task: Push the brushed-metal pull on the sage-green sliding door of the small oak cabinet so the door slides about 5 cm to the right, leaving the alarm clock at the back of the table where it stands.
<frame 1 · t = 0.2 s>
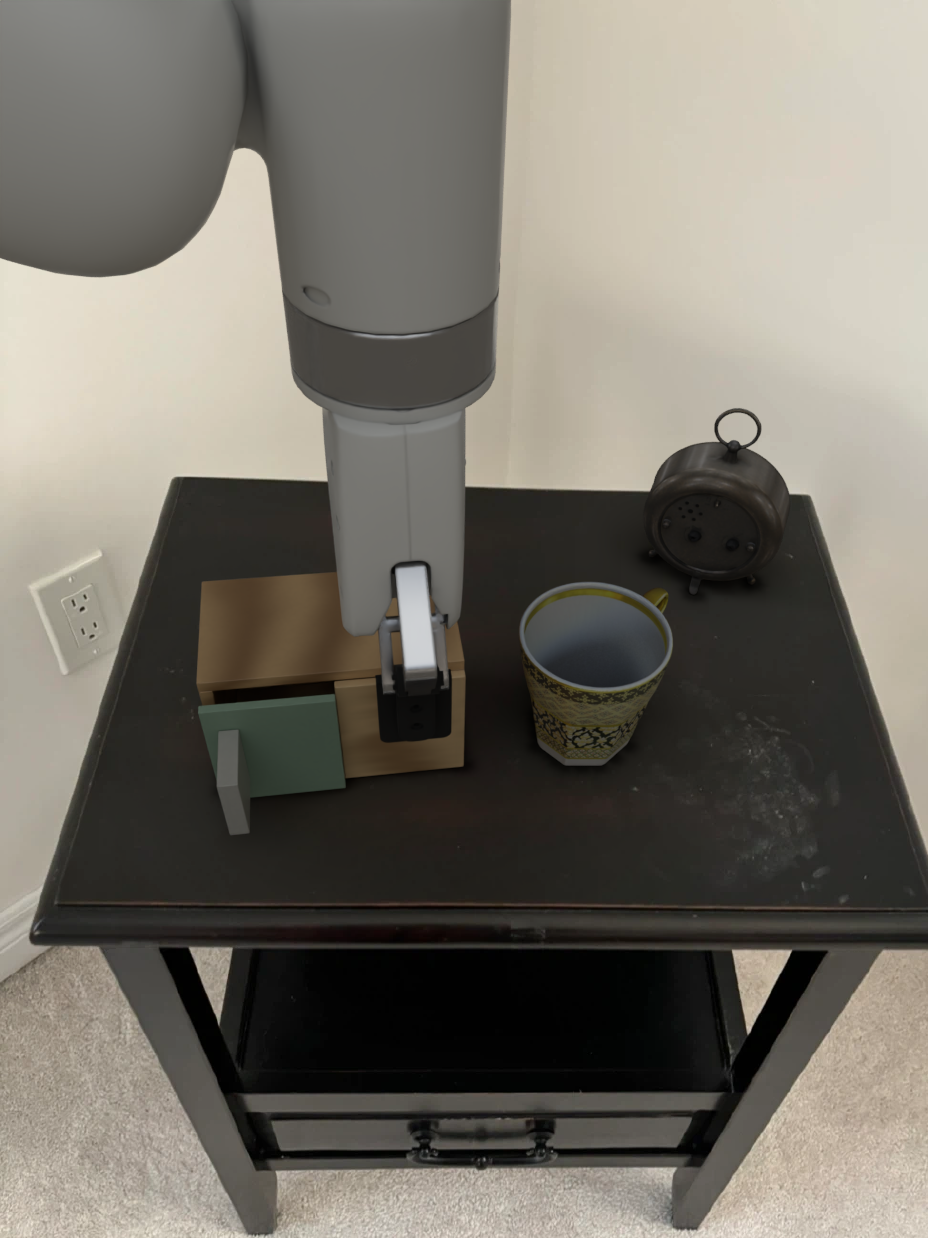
hand: (405, 657, 50), 20 cm above the table, tool pointing down, fingers open, 9 cm apart
ceramic cup: (594, 722, 75), on the table
sliding door: (276, 776, 63), point 5 cm above the table, slide at 0.0 cm
alarm clock: (698, 580, 86), on the table
cabinet: (342, 728, 73), on the table
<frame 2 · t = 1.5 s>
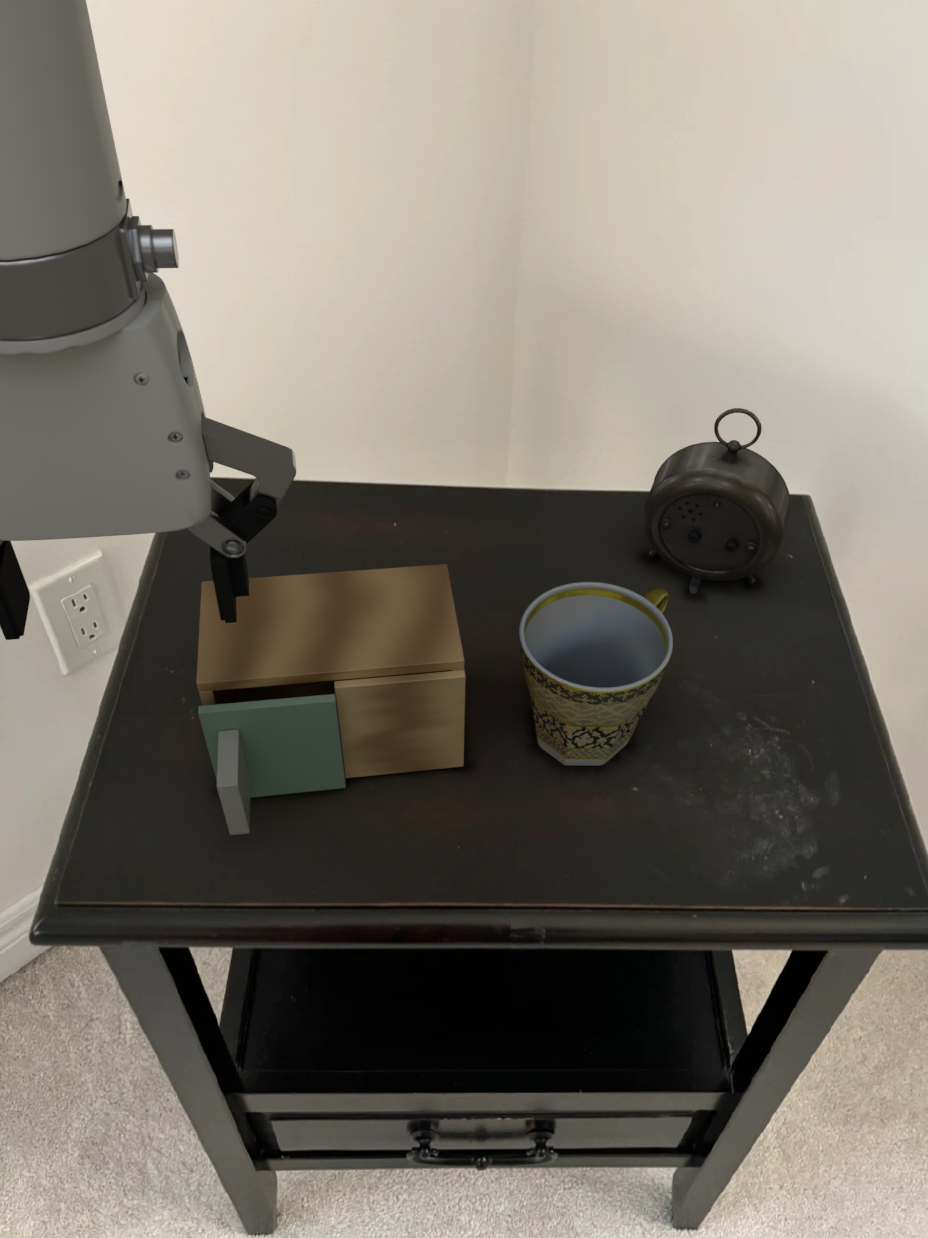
hand: (126, 610, 49), 22 cm above the table, tool pointing down, fingers open, 9 cm apart
nothing on the table moved.
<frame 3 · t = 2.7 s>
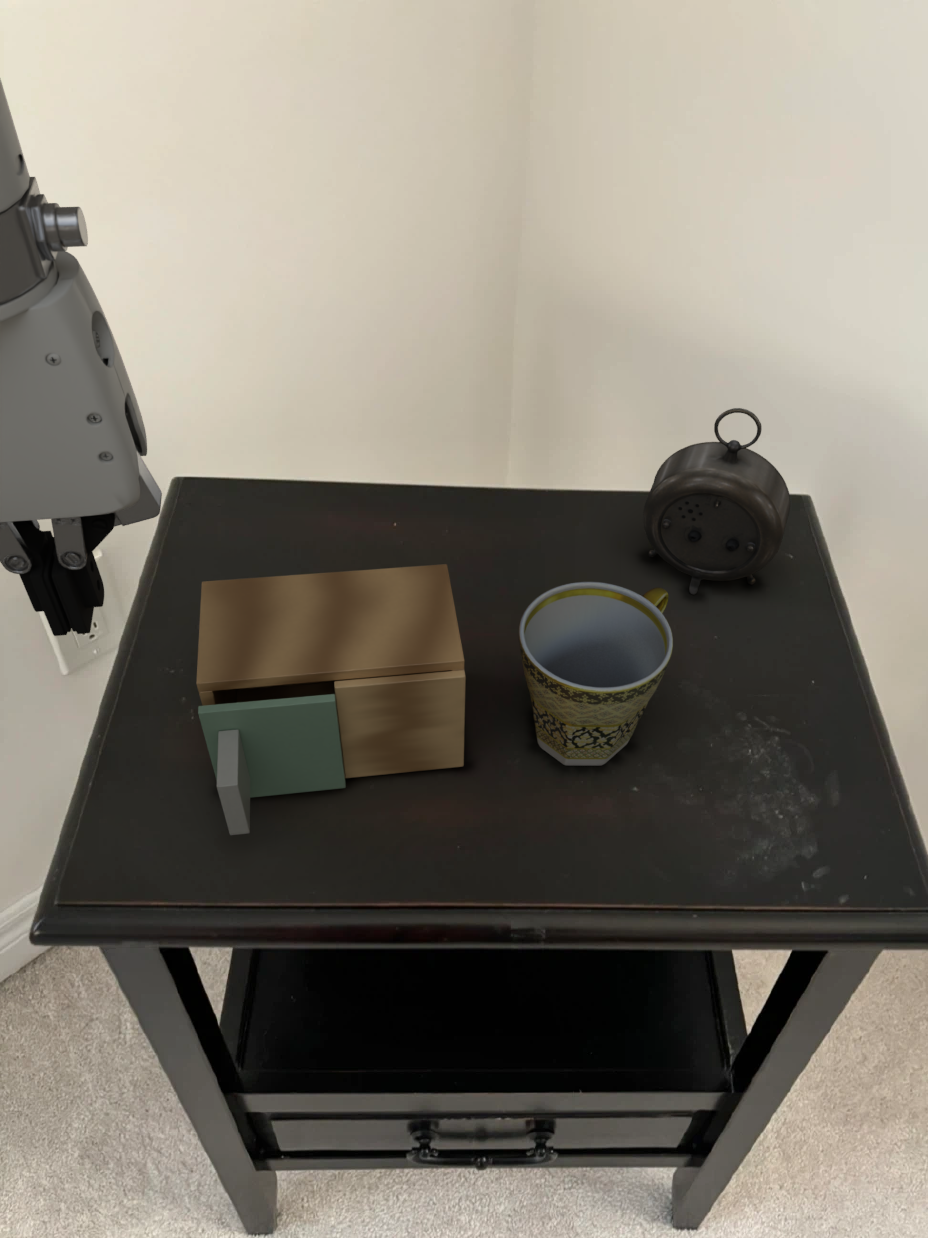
hand: (76, 614, 50), 21 cm above the table, tool pointing down, fingers closed
nothing on the table moved.
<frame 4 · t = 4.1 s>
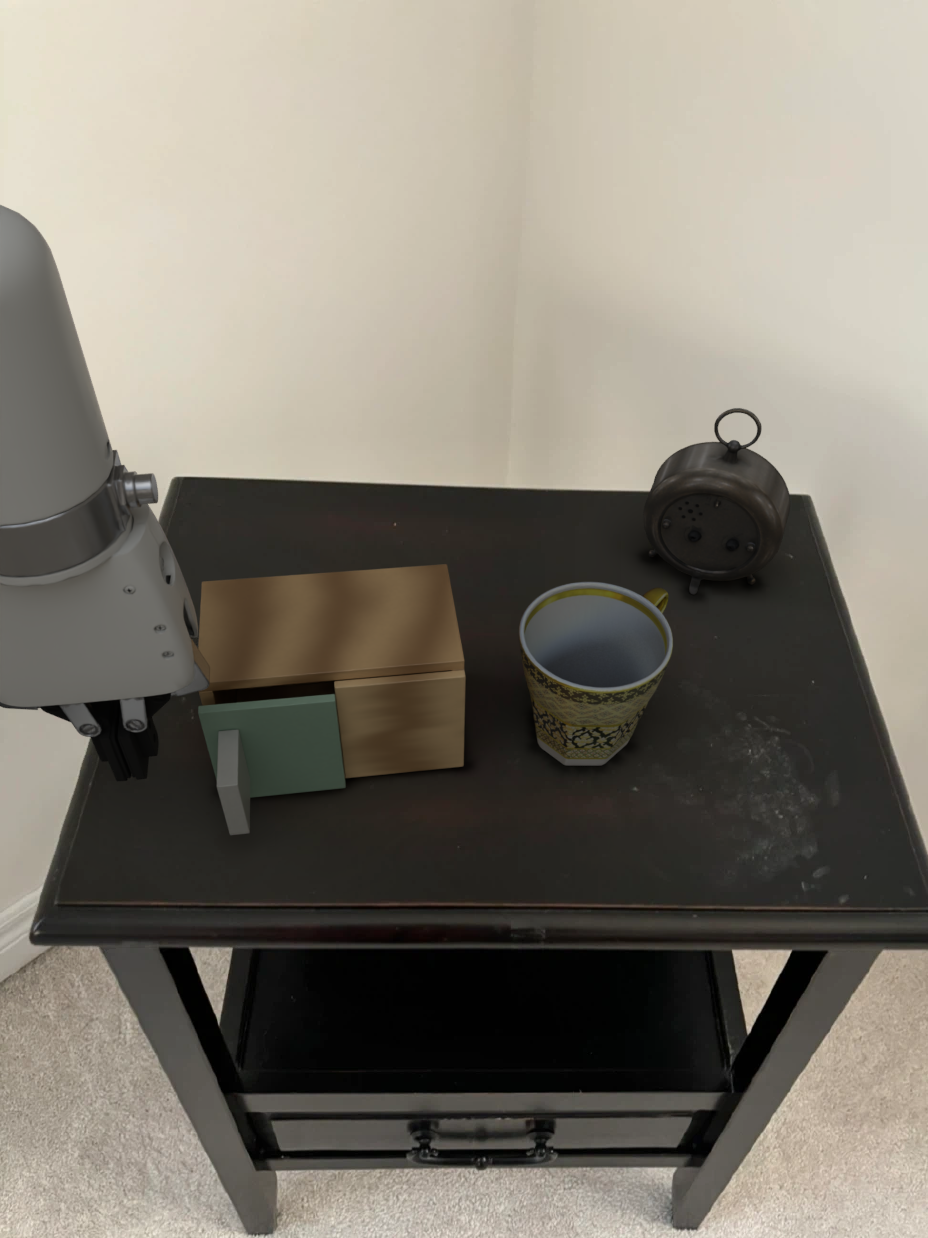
hand: (134, 760, 59), 9 cm above the table, tool pointing down, fingers closed
nothing on the table moved.
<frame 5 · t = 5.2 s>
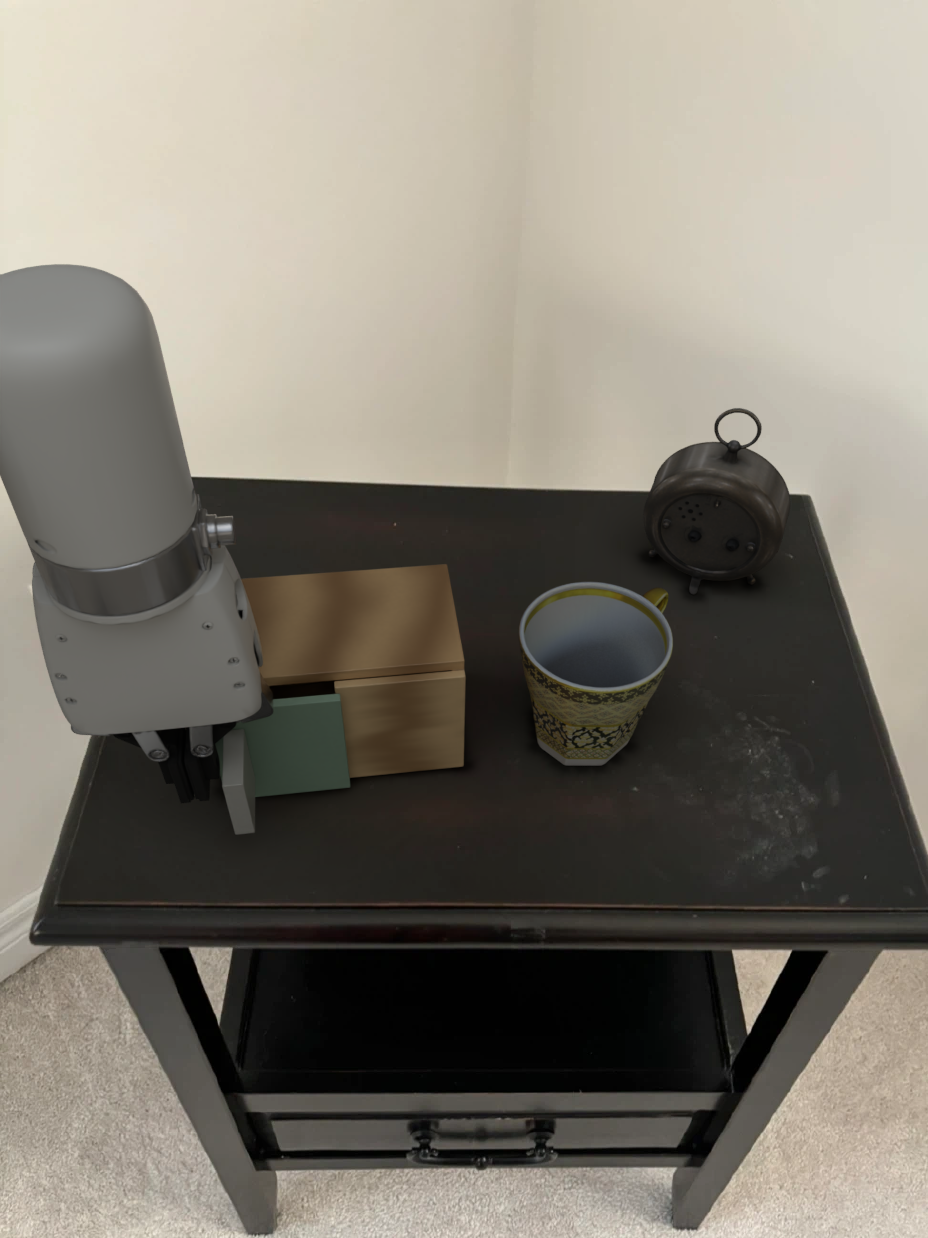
hand: (196, 782, 61), 6 cm above the table, tool pointing down, fingers closed
sliding door: (281, 775, 63), point 5 cm above the table, slide at 0.3 cm, touching gripper
everything else where it was.
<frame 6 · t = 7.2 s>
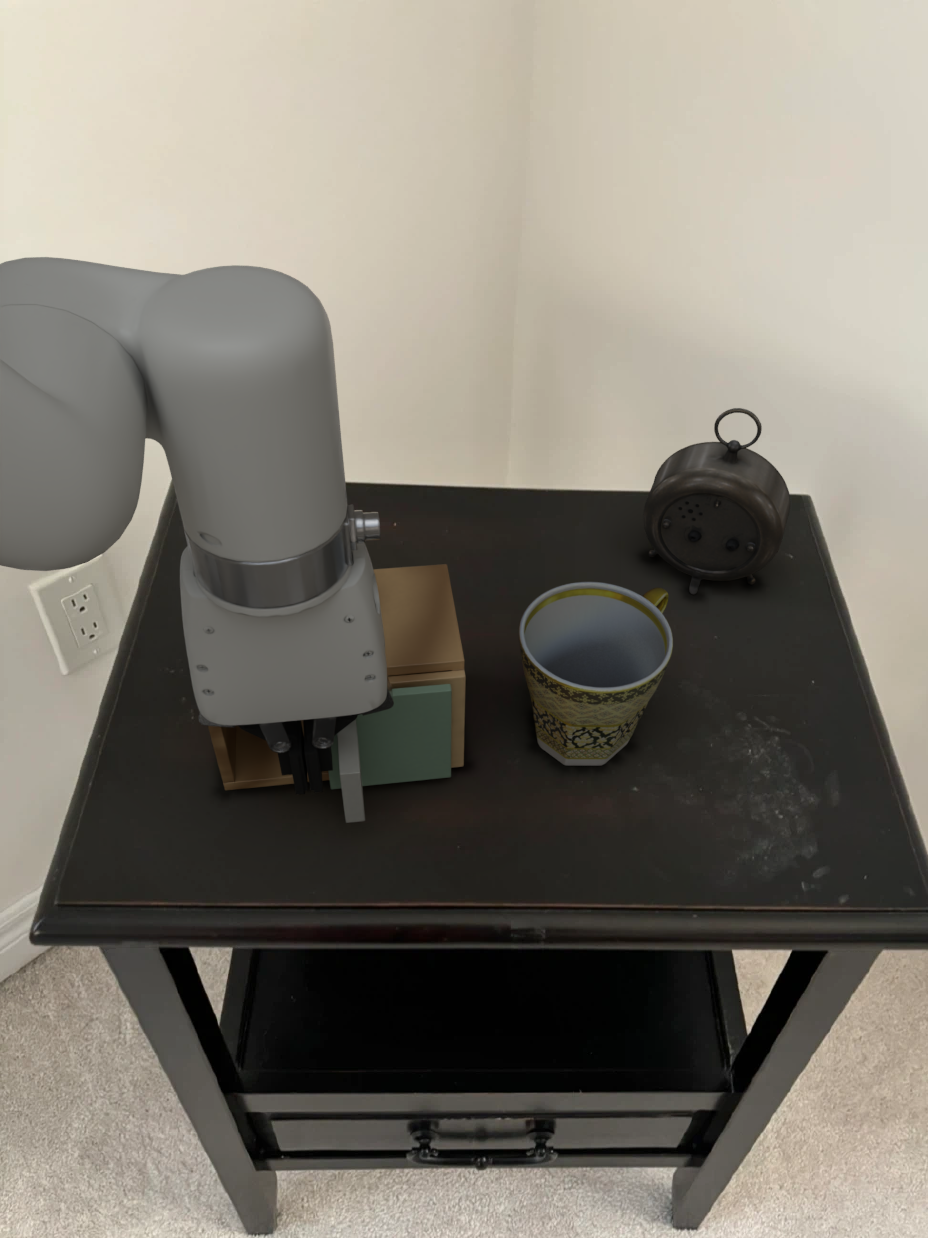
hand: (308, 773, 63), 6 cm above the table, tool pointing down, fingers closed
sliding door: (391, 764, 64), point 5 cm above the table, slide at 7.0 cm
everything else where it was.
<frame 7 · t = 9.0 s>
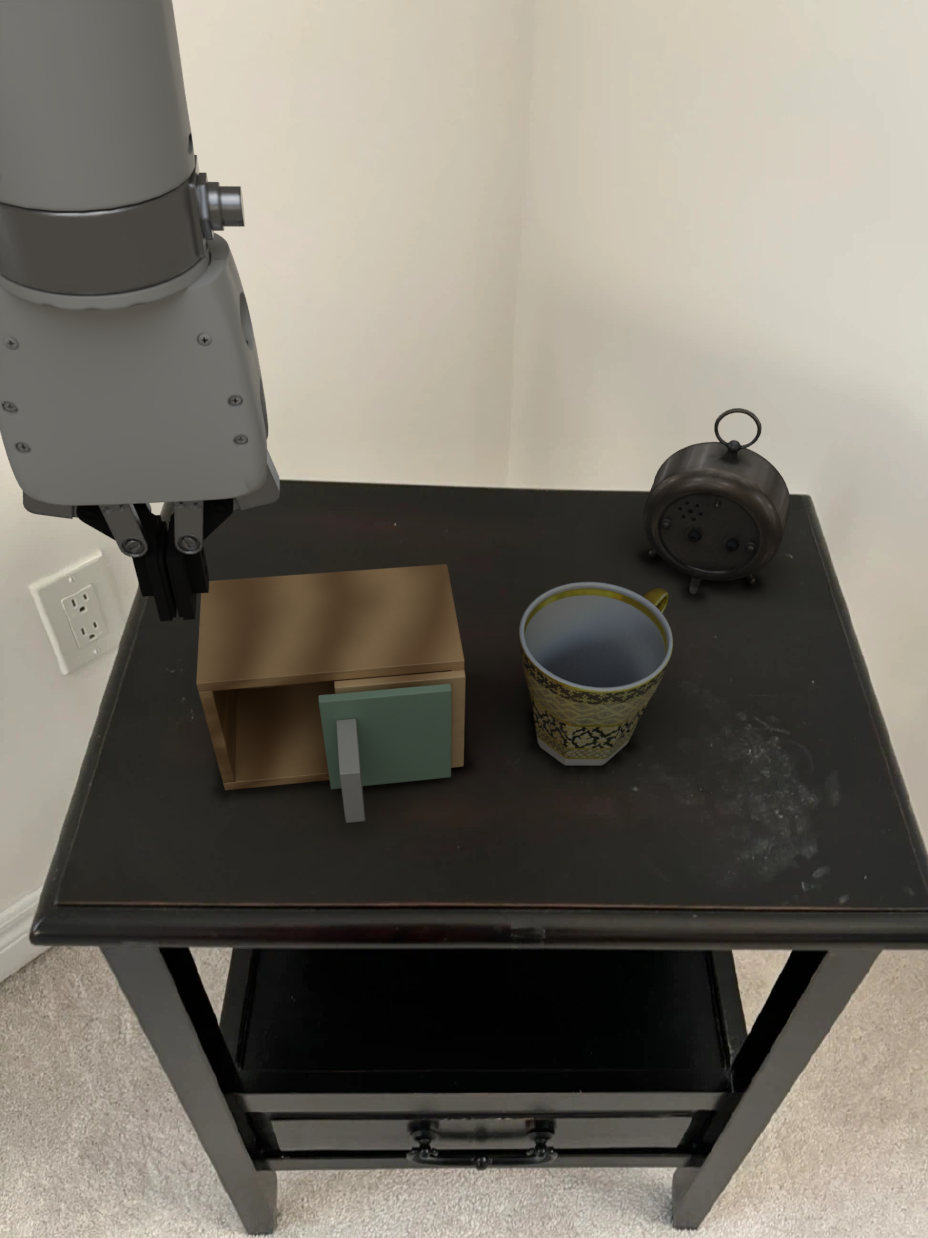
hand: (179, 600, 50), 22 cm above the table, tool pointing down, fingers closed
nothing on the table moved.
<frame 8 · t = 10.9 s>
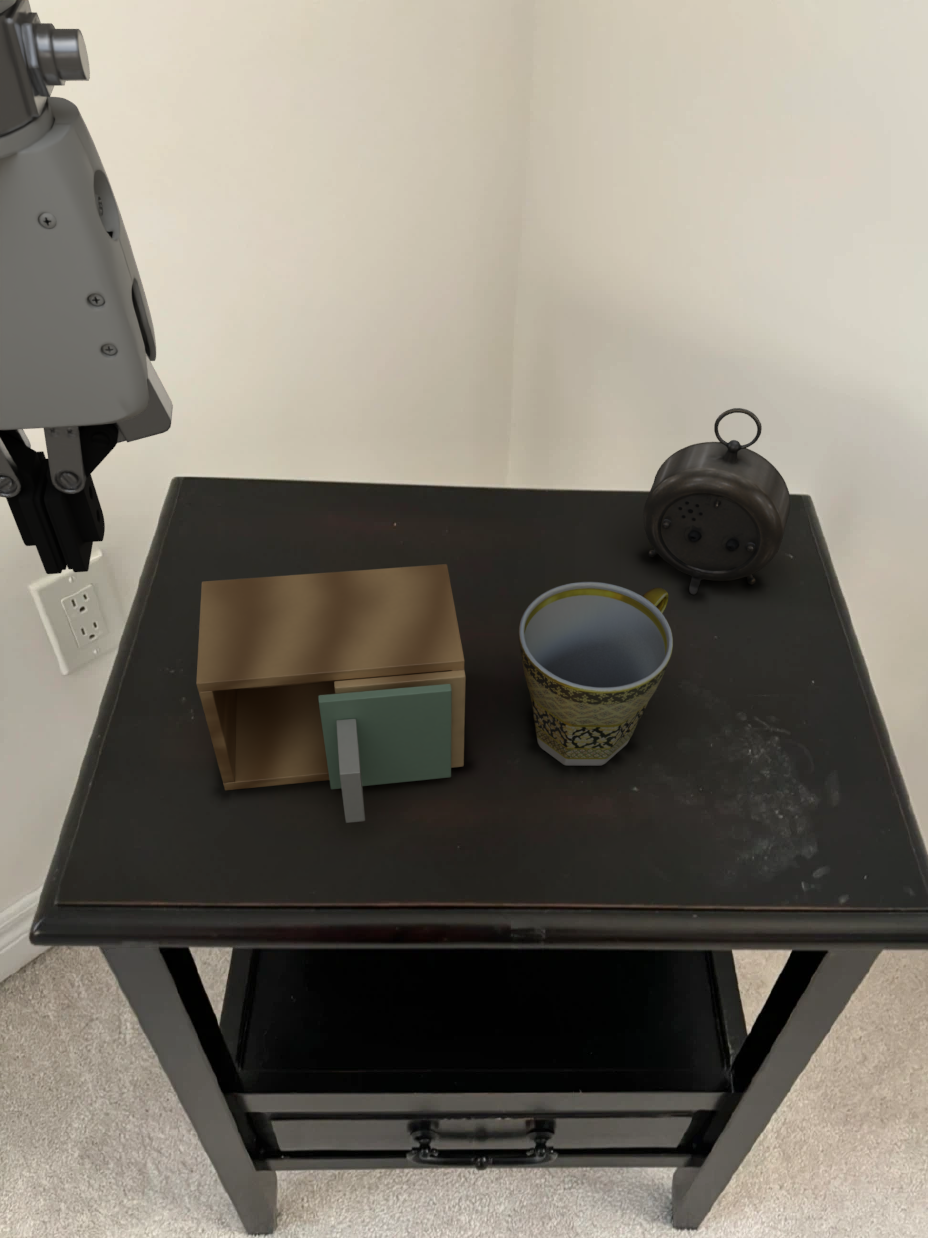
hand: (72, 550, 44), 27 cm above the table, tool pointing down, fingers closed
nothing on the table moved.
at the end: sliding door slide at 7.0 cm; alarm clock moved 0.2 cm from its start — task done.
